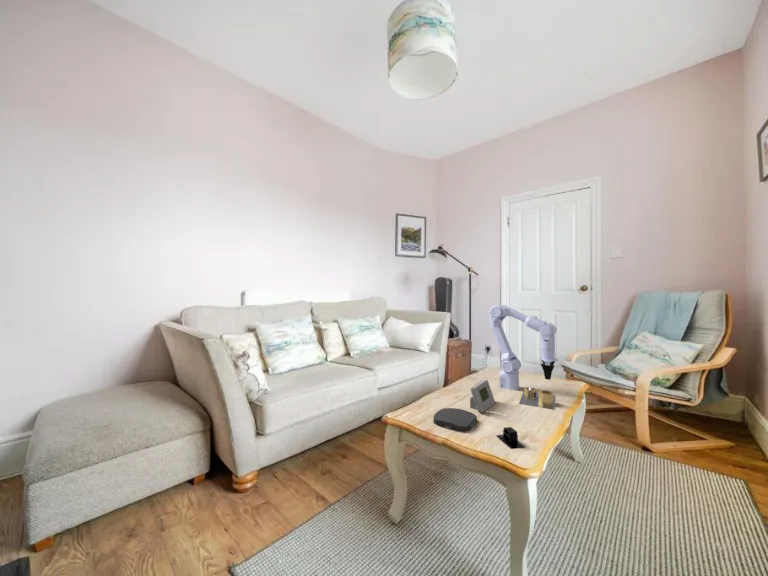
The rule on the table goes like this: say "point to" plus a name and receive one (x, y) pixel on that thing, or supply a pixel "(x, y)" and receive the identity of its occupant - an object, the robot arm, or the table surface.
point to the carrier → (533, 398)
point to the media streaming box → (455, 419)
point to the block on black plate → (510, 438)
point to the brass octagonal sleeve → (545, 397)
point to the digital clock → (481, 396)
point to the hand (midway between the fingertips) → (548, 377)
